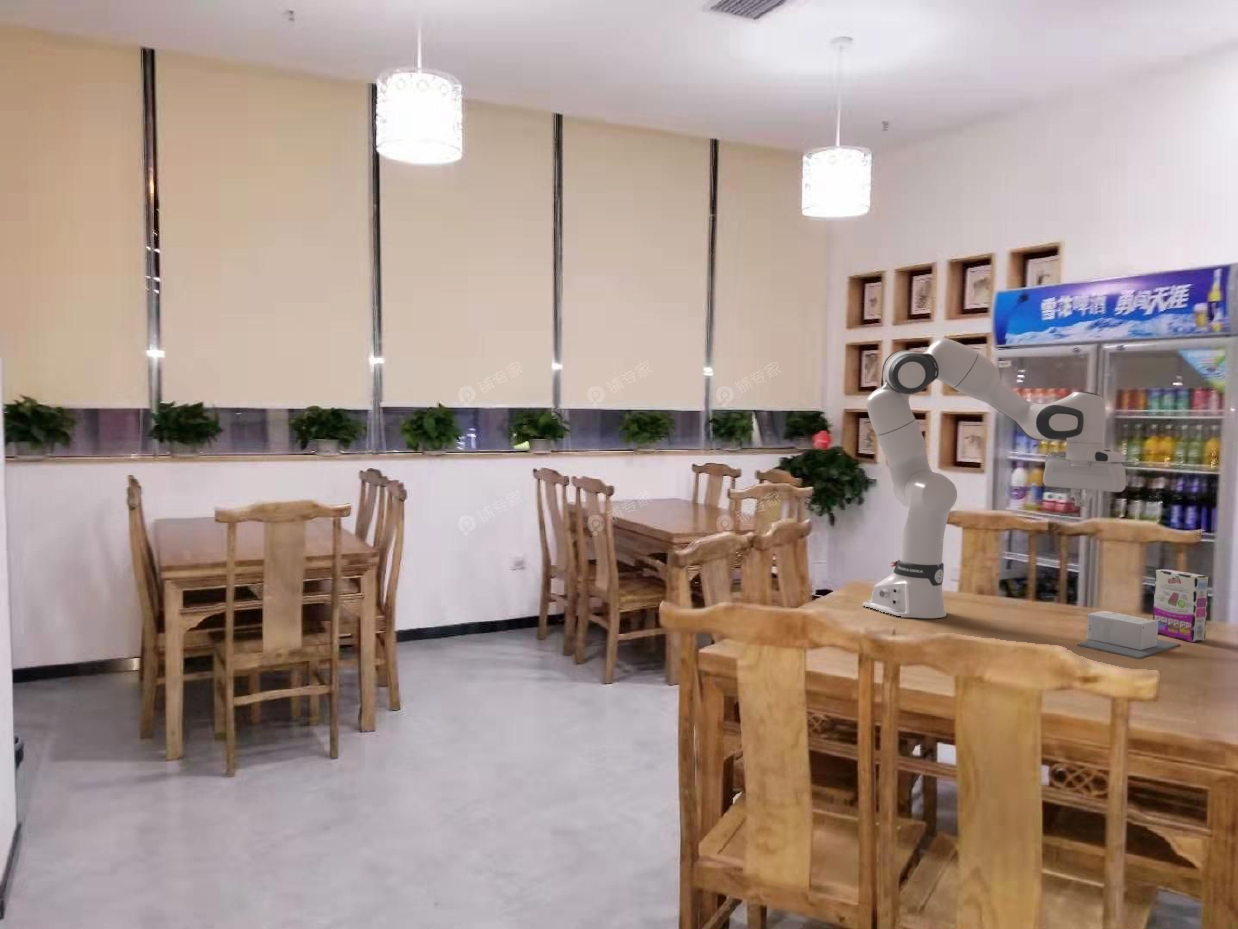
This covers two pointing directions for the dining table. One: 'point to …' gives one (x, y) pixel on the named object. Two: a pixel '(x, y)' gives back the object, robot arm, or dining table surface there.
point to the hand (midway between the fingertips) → (1081, 506)
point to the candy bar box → (1181, 604)
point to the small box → (1122, 630)
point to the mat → (1127, 651)
